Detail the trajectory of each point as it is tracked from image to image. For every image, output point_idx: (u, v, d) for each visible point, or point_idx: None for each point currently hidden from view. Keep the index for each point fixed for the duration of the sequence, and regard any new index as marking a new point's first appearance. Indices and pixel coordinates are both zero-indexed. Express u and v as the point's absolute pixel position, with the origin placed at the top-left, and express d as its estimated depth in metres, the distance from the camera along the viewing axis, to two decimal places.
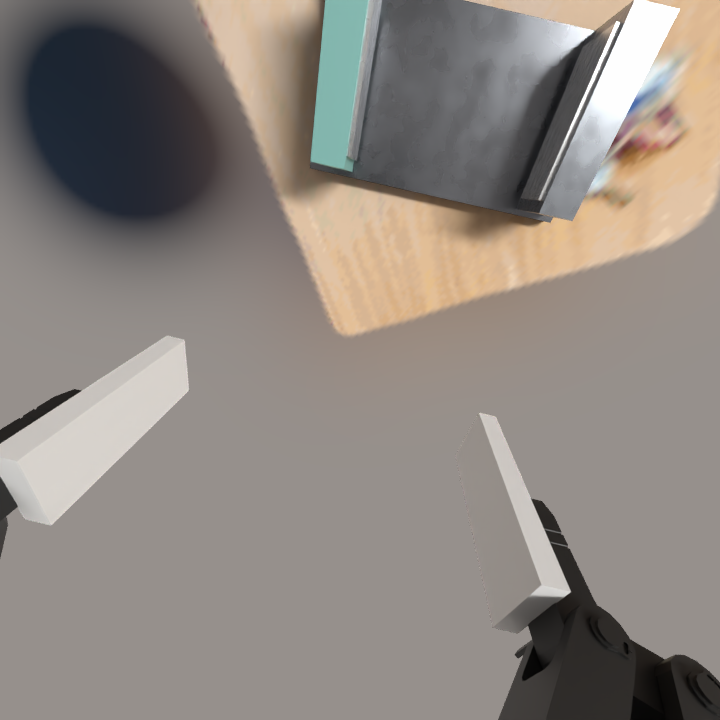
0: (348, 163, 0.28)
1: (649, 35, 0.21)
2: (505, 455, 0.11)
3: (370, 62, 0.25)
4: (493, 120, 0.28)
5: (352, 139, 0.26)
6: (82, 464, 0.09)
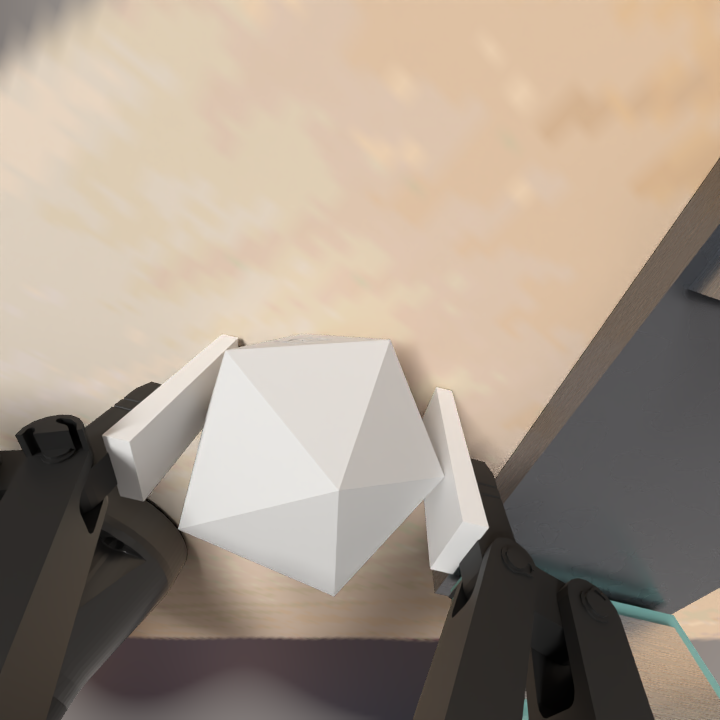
0: (716, 695, 0.15)
1: None
2: (453, 422, 0.12)
3: None
4: None
5: None
6: (166, 448, 0.10)
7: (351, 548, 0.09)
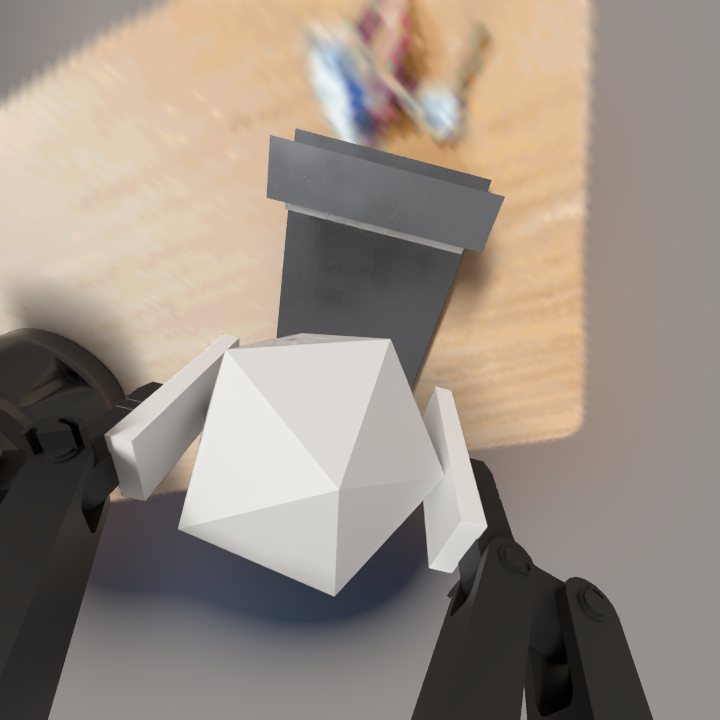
0: None
1: (293, 165, 0.17)
2: (452, 421, 0.12)
3: None
4: (363, 282, 0.26)
5: None
6: (168, 448, 0.10)
7: (352, 548, 0.09)
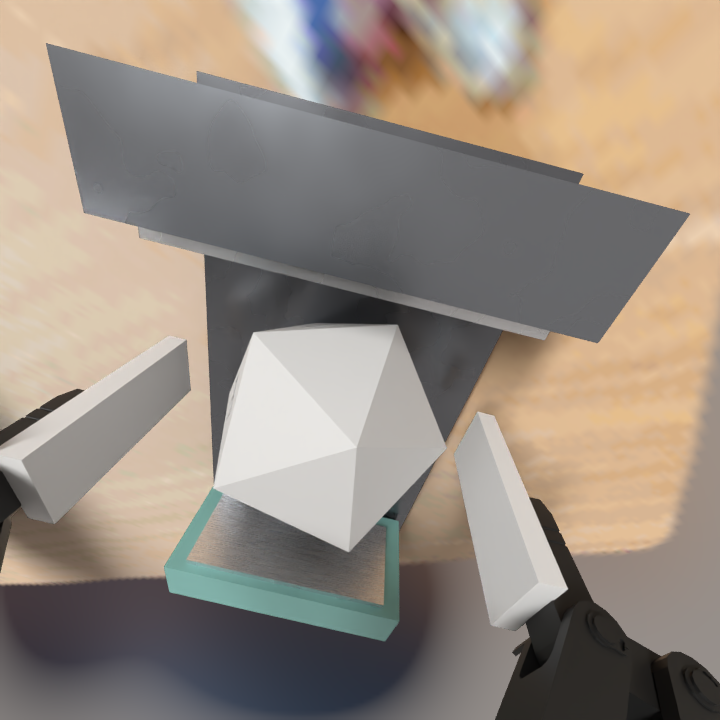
0: (390, 573, 0.18)
1: (128, 129, 0.06)
2: (503, 454, 0.11)
3: (278, 521, 0.19)
4: None
5: (361, 601, 0.17)
6: (85, 463, 0.09)
7: (365, 507, 0.10)
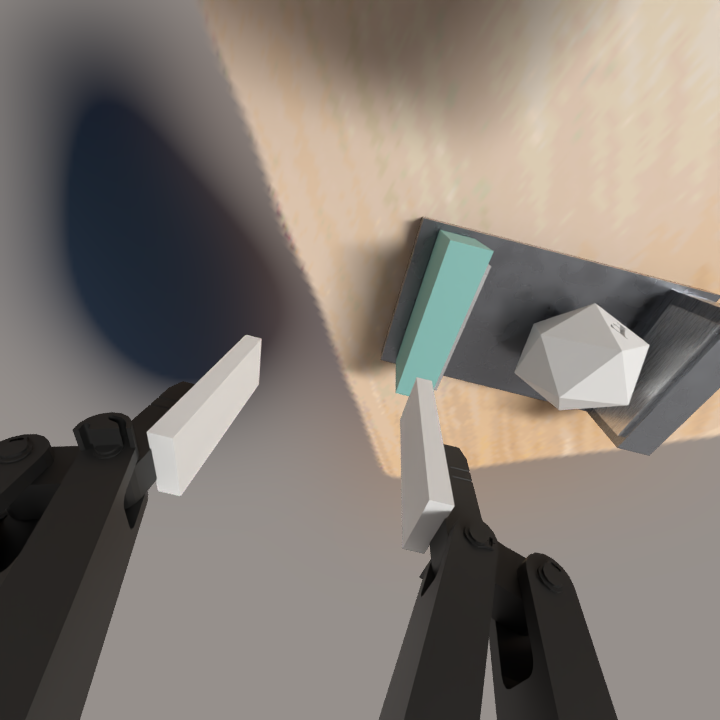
0: None
1: None
2: (430, 409, 0.12)
3: None
4: None
5: (440, 379, 0.26)
6: (200, 445, 0.10)
7: (582, 401, 0.24)
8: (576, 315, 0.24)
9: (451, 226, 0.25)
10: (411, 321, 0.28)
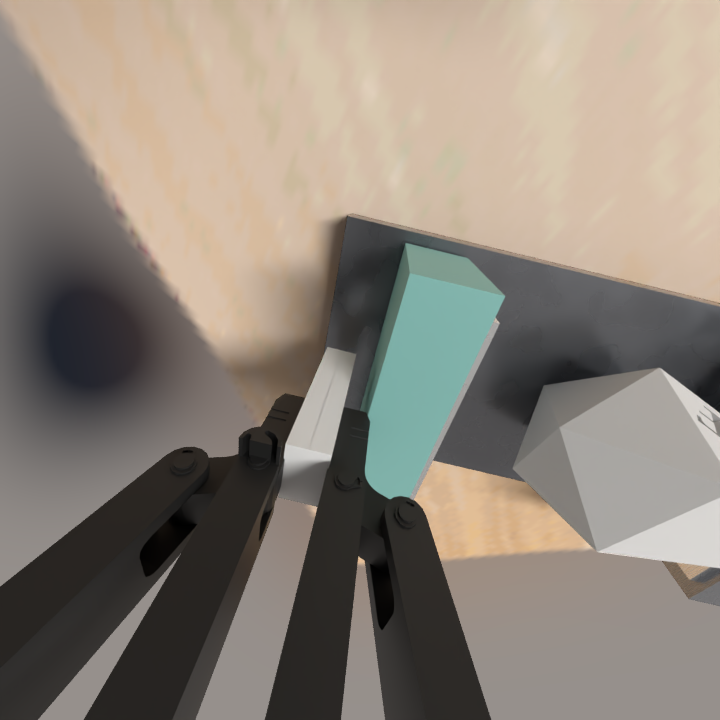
0: None
1: None
2: (343, 377, 0.13)
3: None
4: None
5: None
6: None
7: None
8: (625, 391, 0.13)
9: (397, 229, 0.14)
10: (366, 392, 0.17)
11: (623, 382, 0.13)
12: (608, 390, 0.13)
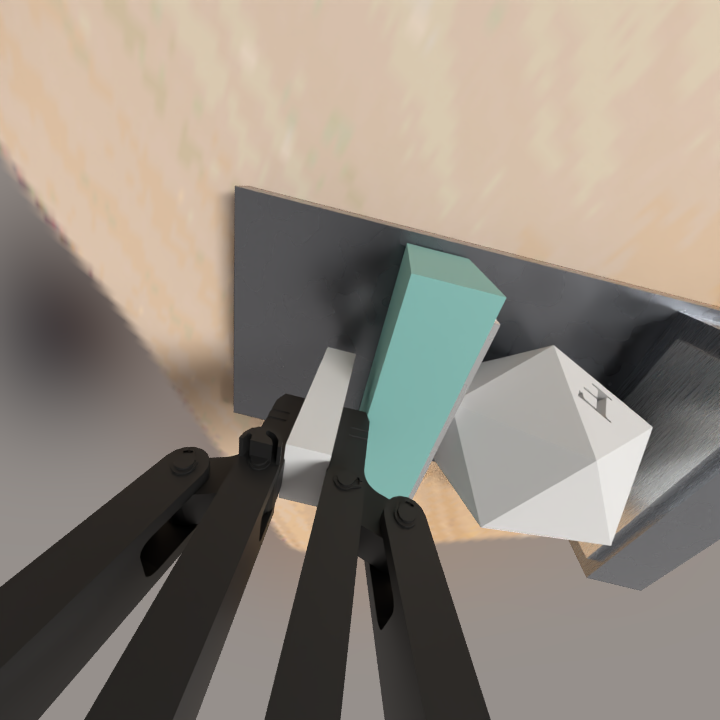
0: None
1: None
2: (343, 377, 0.13)
3: None
4: None
5: None
6: None
7: None
8: (518, 368, 0.13)
9: (285, 200, 0.14)
10: (366, 392, 0.17)
11: (520, 360, 0.13)
12: (505, 368, 0.13)
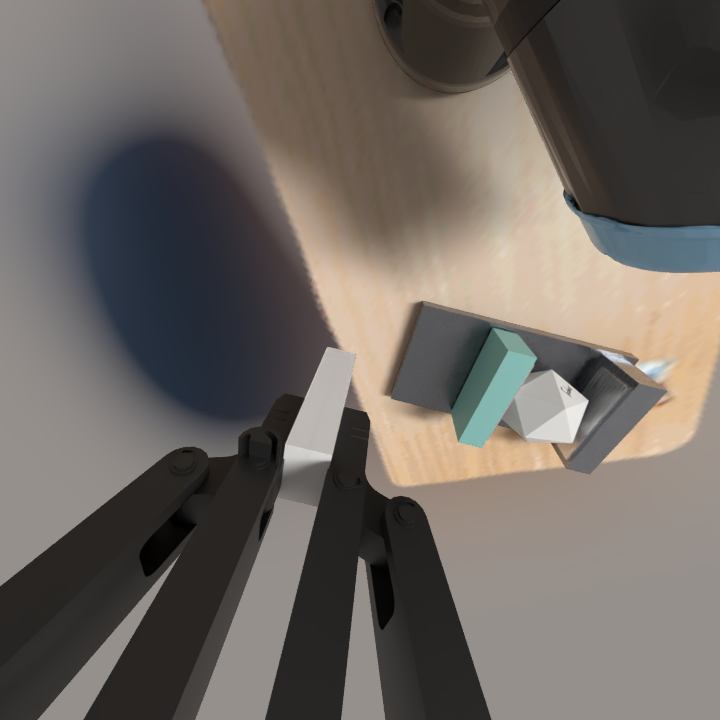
0: None
1: (647, 399, 0.31)
2: (344, 377, 0.13)
3: None
4: None
5: (491, 433, 0.36)
6: None
7: (541, 439, 0.33)
8: (538, 378, 0.34)
9: (443, 310, 0.35)
10: (468, 388, 0.38)
11: (538, 375, 0.34)
12: (533, 378, 0.34)
